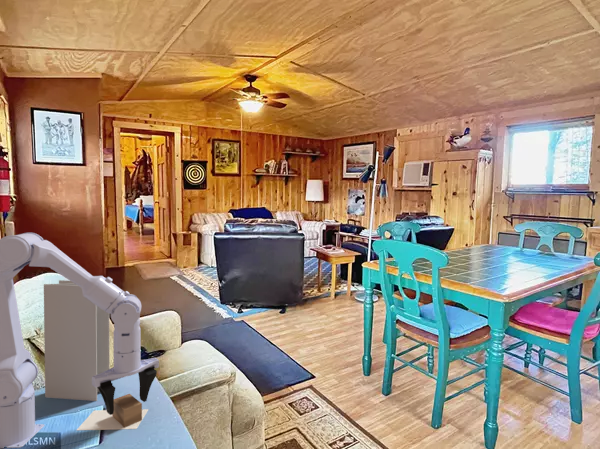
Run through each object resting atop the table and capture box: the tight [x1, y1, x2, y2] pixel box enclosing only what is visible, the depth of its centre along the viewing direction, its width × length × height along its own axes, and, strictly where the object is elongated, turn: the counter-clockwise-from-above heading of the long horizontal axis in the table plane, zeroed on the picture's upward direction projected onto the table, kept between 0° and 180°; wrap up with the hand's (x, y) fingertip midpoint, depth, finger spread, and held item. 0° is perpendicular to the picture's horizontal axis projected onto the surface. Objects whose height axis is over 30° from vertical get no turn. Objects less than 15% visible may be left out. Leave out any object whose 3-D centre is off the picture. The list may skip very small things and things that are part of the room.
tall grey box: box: [43, 279, 111, 402], centre depth 97 cm, size 14×6×30 cm, turn 84°
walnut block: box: [112, 393, 143, 428], centre depth 86 cm, size 7×4×4 cm, turn 48°
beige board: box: [76, 408, 149, 431], centre depth 86 cm, size 13×8×1 cm, turn 94°
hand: (127, 406), depth 86 cm, fingers open, 7 cm apart
